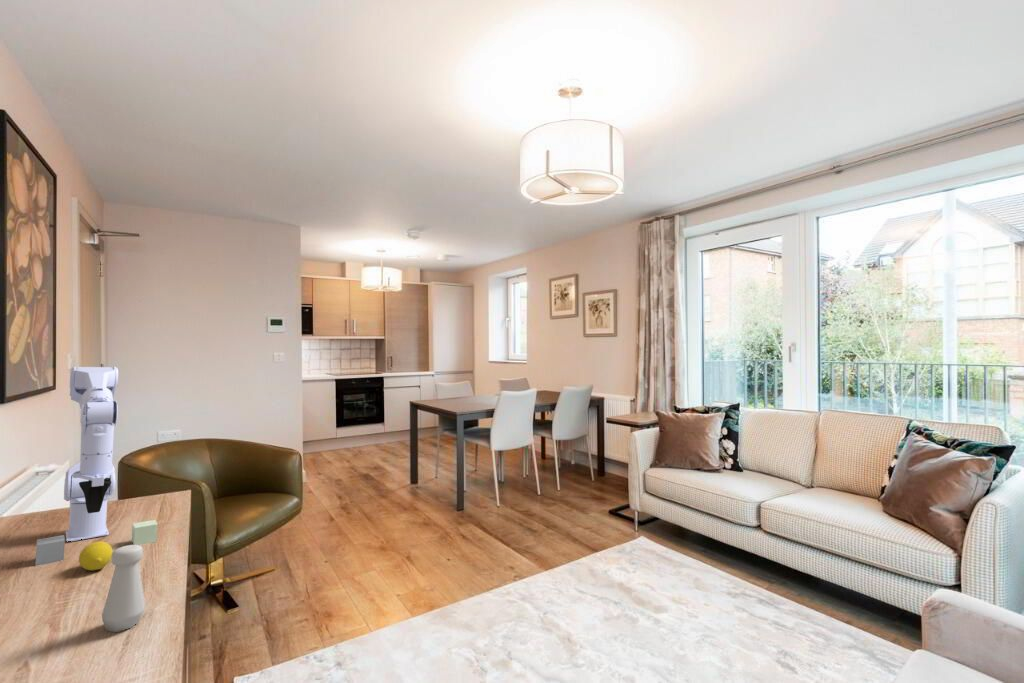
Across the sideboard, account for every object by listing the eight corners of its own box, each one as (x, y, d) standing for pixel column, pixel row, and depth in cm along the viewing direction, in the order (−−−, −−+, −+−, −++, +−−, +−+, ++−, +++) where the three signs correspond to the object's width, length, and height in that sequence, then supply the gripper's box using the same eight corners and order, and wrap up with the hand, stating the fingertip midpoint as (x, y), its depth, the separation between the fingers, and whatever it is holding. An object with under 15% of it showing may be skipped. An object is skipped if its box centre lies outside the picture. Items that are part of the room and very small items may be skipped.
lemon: (88, 569, 106) (91, 581, 101) (71, 550, 105) (74, 561, 99) (116, 550, 110) (121, 560, 104) (100, 532, 108) (104, 541, 102)
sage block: (131, 541, 120) (132, 523, 120) (154, 537, 123) (154, 519, 124) (133, 547, 117) (134, 528, 117) (156, 542, 120) (157, 524, 120)
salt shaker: (96, 638, 78) (100, 556, 79) (106, 621, 83) (110, 544, 84) (141, 629, 81) (145, 550, 82) (147, 613, 86) (151, 539, 87)
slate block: (35, 560, 109) (36, 539, 109) (62, 554, 112) (64, 535, 112) (35, 566, 105) (36, 545, 106) (63, 560, 108) (64, 540, 109)
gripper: (72, 450, 116) (69, 508, 116) (75, 459, 106) (71, 523, 105) (111, 447, 121) (107, 502, 120) (116, 456, 111) (113, 516, 110)
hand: (93, 512), depth 113 cm, fingers closed
